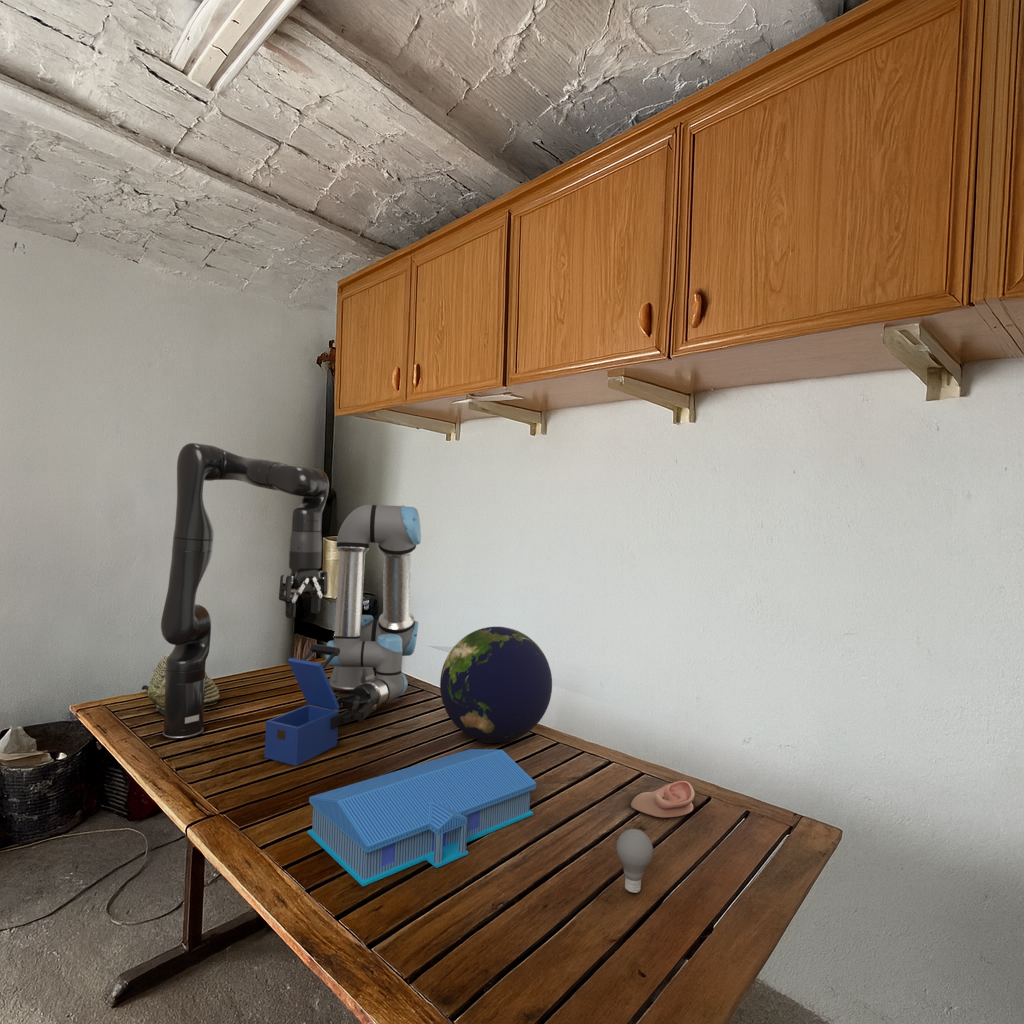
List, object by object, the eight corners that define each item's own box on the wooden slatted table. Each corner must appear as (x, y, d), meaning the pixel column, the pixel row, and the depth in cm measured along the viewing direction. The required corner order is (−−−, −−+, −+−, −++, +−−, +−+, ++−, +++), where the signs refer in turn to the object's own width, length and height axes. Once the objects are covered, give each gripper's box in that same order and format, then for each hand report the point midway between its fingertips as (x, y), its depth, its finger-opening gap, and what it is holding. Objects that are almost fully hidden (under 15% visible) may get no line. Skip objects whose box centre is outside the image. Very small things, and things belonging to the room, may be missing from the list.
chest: (296, 766, 148) (297, 728, 148) (264, 757, 152) (265, 721, 152) (337, 745, 162) (338, 710, 161) (307, 737, 165) (308, 704, 165)
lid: (318, 666, 154) (339, 641, 161) (287, 660, 158) (309, 636, 165) (337, 710, 161) (357, 684, 168) (307, 703, 165) (327, 679, 172)
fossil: (144, 707, 182) (145, 655, 182) (212, 696, 194) (213, 647, 194) (151, 716, 175) (153, 662, 175) (221, 703, 188) (223, 653, 188)
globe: (416, 747, 162) (421, 630, 161) (468, 713, 189) (472, 613, 189) (525, 771, 150) (531, 645, 150) (563, 731, 178) (568, 624, 177)
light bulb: (610, 879, 108) (613, 822, 108) (644, 879, 109) (647, 822, 109) (619, 902, 102) (622, 840, 102) (655, 901, 103) (658, 840, 103)
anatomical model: (631, 794, 132) (632, 772, 143) (630, 813, 132) (631, 789, 143) (697, 803, 129) (693, 779, 140) (696, 822, 129) (692, 797, 141)
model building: (372, 896, 101) (375, 834, 101) (306, 832, 119) (308, 779, 119) (545, 820, 127) (547, 771, 127) (469, 777, 146) (471, 734, 145)
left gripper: (297, 552, 146) (294, 622, 147) (337, 549, 160) (334, 613, 160) (272, 549, 149) (269, 618, 150) (313, 546, 163) (311, 609, 163)
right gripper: (401, 716, 177) (350, 742, 156) (336, 702, 186) (280, 726, 165) (402, 689, 177) (351, 712, 156) (337, 677, 186) (281, 697, 165)
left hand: (303, 615), depth 155 cm, fingers open, 8 cm apart
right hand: (315, 719), depth 161 cm, fingers closed on chest, 10 cm apart
